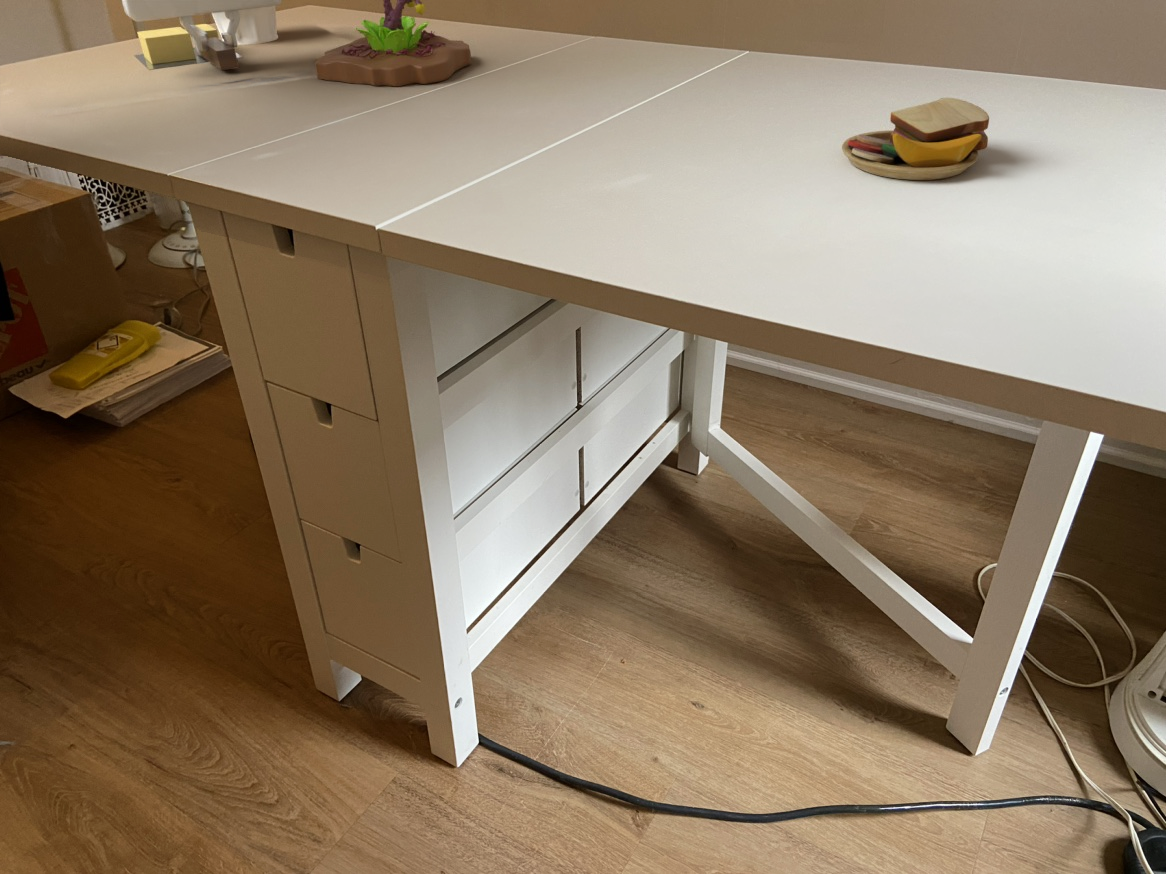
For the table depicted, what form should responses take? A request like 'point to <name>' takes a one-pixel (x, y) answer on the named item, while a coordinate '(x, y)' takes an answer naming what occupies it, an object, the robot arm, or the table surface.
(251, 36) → the cup
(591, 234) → the table surface
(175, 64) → the butter dish
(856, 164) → the toy sandwich meal
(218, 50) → the knife
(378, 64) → the plant
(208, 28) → the butter slice
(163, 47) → the butter
